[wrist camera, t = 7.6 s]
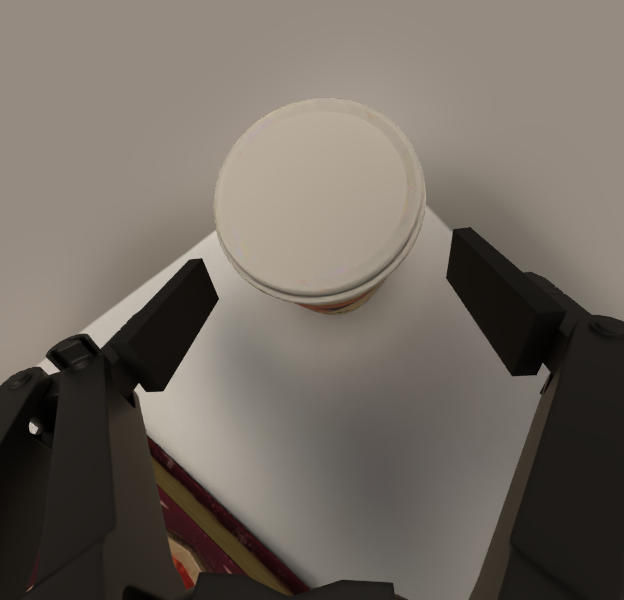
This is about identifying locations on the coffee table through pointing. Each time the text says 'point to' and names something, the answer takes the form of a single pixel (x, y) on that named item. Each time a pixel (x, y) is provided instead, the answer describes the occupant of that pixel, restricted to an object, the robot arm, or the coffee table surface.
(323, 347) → the coffee table surface
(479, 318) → the robot arm
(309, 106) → the coffee cup
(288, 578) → the book
